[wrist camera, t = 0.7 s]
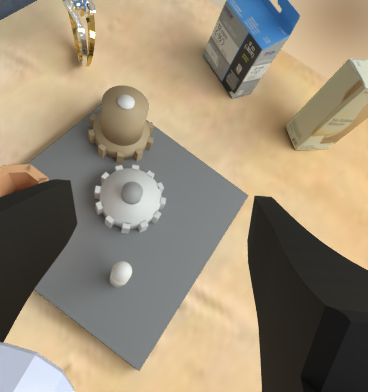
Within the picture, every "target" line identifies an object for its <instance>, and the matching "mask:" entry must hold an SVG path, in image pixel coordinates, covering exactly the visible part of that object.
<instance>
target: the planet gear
mask: <svg viewBox="0 0 368 392" xmlns="http://www.w3.org/2000/svg"><path fill="white" fill-rule="evenodd" d="M46 181H49V178H48V177H47V176H45V175H44V174H43V173H41V172H40V171H39V170H37V169H36V168H35V167H33V166H32V165H31V164H19V165H3V166H2V167H1V168H0V197H2V196H5V195H8V194H11V193H14V192H16V191H19V190H22V189H25V188H28V187H30V186H33V185H36V184H39V183H42V182H46Z"/></svg>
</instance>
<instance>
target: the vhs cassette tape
mask: <svg viewBox="0 0 368 392" xmlns="http://www.w3.org/2000/svg"><path fill="white" fill-rule="evenodd" d="M35 1H37V0H0V20H1V19H3V18H5V17H7V16H9V15H11V14H13V13H14V12H16V11H18V10H20V9H22V8H24V7H26V6H27V5H29V4H31V3H33V2H35Z"/></svg>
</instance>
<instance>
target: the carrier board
mask: <svg viewBox="0 0 368 392" xmlns="http://www.w3.org/2000/svg"><path fill="white" fill-rule="evenodd" d="M148 109H149V104H148V101H147V99H146V97H145V96H144V95H143V94H142V93H141V92H140V91H138V90H137V89H135V88H132V87H129V86H115V87H112V88H110V89H109V90H107V91H106V92H105V94H104V95H103V99H102V104H101V105H100V106H99V107H97V108H96V109H95V110H94V111H92V112H91V113H90V114H89V115H87V116H86V117H85V118H84V119H83V120H81V121H80V122H79V123H78V124H76V125H75V126H74V127H73V128H71V129H70V130H69V131H68V132H66V133H65V134H64V135H63V136H62V137H60V138H59V139H58V140H57V141H55V142H54V143H53V144H52V145H50V146H49V147H48V148H47V149H45V150H44V151H43V152H42V153H40V154H39V155H38V156H37V157H36V158H34V159H33V160H32V161H31V162H29V163H28V164H31V165H32V166H33V167H35V168H36V169H37V170H39V171H40V172H41V173H43V174H44V175H45V176H47V177H48V178H49V180H54V179H61V180H70V181H71V187H72V193H73V199H74V205H75V211H76V217H77V223H78V224H77V226H76V228H75V230H74V232H73V234H72V236H71V238H70V240H69V242H68V243H67V245H66V246H65V248H64V249H63V251H62V252H61V253H60V255H59V256H58V257H57V259H56V260H55V262H54V263H53V264H52V266H51V267H50V268H49V270H48V271H47V272H46V274H45V275H44V276H43V278H42V279H41V280H40V282H39V283H38V284H37V286H36V287H35V289H34V290H35V291H37V292H38V293H39V294H40V295H42V296H43V297H44V298H46V299H47V300H48V301H50V302H51V303H52V304H53V305H55V306H56V307H57V308H59V309H60V310H61V311H62V312H64V313H65V314H66V315H68V316H69V317H70V318H71V319H73V320H74V321H75V322H77V323H78V324H79V325H81V326H82V327H83V328H84V329H86V330H87V331H88V332H90V333H91V334H92V335H93V336H95V337H96V338H97V339H99V340H100V341H101V342H102V343H104V344H105V345H106V346H108V347H109V348H110V349H112V350H113V351H114V352H115V353H117V354H118V355H119V356H121V357H122V358H123V359H124V360H126V361H127V362H128V363H130V364H131V365H132V366H133V367H135V368H136V369H137V370H140V369H141V367H142V366H143V364H144V362H145V361H146V359H147V358H148V356H149V354H150V353H151V351H152V350H153V348H154V346H155V345H156V343H157V342H158V340H159V338H160V337H161V335H162V334H163V332H164V330H165V329H166V327H167V326H168V324H169V322H170V321H171V319H172V317H173V316H174V314H175V313H176V311H177V309H178V308H179V306H180V305H181V303H182V301H183V300H184V298H185V297H186V295H187V293H188V292H189V290H190V289H191V287H192V285H193V284H194V282H195V281H196V279H197V277H198V276H199V274H200V273H201V271H202V269H203V268H204V266H205V264H206V263H207V261H208V260H209V258H210V256H211V255H212V253H213V252H214V250H215V248H216V247H217V245H218V244H219V242H220V240H221V239H222V237H223V236H224V234H225V232H226V231H227V229H228V228H229V226H230V224H231V223H232V221H233V220H234V218H235V216H236V215H237V213H238V212H239V210H240V208H241V207H242V205H243V203H244V202H245V200H246V199H247V197H248V195H247V194H246V193H244V192H243V191H242V190H240V189H239V188H238V187H236V186H235V185H234V184H232V183H231V182H229V181H228V180H227V179H225V178H224V177H223V176H221V175H220V174H219V173H217V172H216V171H215V170H213V169H212V168H211V167H209V166H208V165H206V164H205V163H204V162H202V161H201V160H200V159H198V158H197V157H196V156H194V155H193V154H192V153H190V152H189V151H188V150H186V149H185V148H183V147H182V146H181V145H179V144H178V143H177V142H175V141H174V140H173V139H171V138H170V137H169V136H167V135H166V134H165V133H163V132H162V131H160V130H159V129H158V128H156V127H155V126H154V125H153V124H152V122H148V121H147V120H146V117H147V113H148Z"/></svg>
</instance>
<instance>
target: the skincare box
mask: <svg viewBox="0 0 368 392" xmlns="http://www.w3.org/2000/svg"><path fill="white" fill-rule="evenodd" d="M366 118H368V60H360V59H351V58H350V59H348V60H347V61H346V63H345V64H344V65H343V66H342V67H341V68H340V69H339V70H338V71H337V72H336V73H335V74H334V75H333V76H332V77H331V78H330V79H329V80H328V82H327V83H326V84H325V85H324V86H323V87H322V88H321V89H320V90H319V91H318V92H317V93H316V94H315V95H314V96H313V97H312V98H311V99H310V100H309V102H308V103H307V104H306V105H305V106H304V107H303V108H302V109H301V110H300V111H299V112H298V113H297V114H296V115H295V116H294V117H293V118H292V119H291V120H290V122H289V123H288V124H287V125H286V129H287V131H288V134H289V136H290V139H291V141H292V143H293V146H294V148H295V150H318V149H328V148H329V147H331V146H332V145H333V144H335V143H336V142H337V141H338V140H340V139H341V138H342V137H343V136H345V135H346V134H347V133H349V132H350V131H351V130H352V129H354V128H355V127H356V126H358V125H359V124H360V123H361V122H363V121H364V120H365V119H366Z"/></svg>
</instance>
